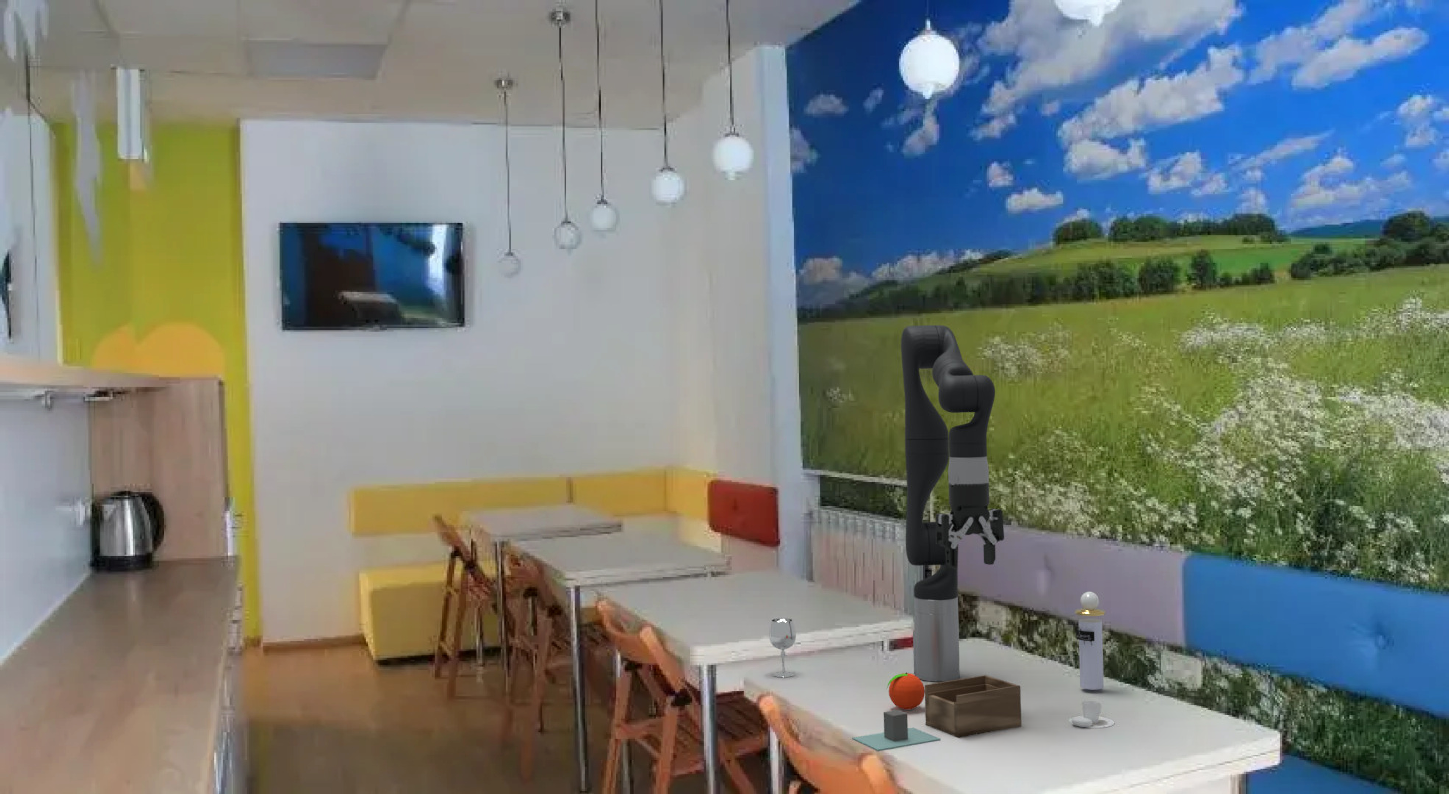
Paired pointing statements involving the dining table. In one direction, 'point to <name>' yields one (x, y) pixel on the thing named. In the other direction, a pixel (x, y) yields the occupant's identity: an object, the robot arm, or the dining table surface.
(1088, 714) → the teacup and saucer
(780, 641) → the wineglass
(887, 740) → the cover plate
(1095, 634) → the perfume bottle
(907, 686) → the clementine
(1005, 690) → the box
